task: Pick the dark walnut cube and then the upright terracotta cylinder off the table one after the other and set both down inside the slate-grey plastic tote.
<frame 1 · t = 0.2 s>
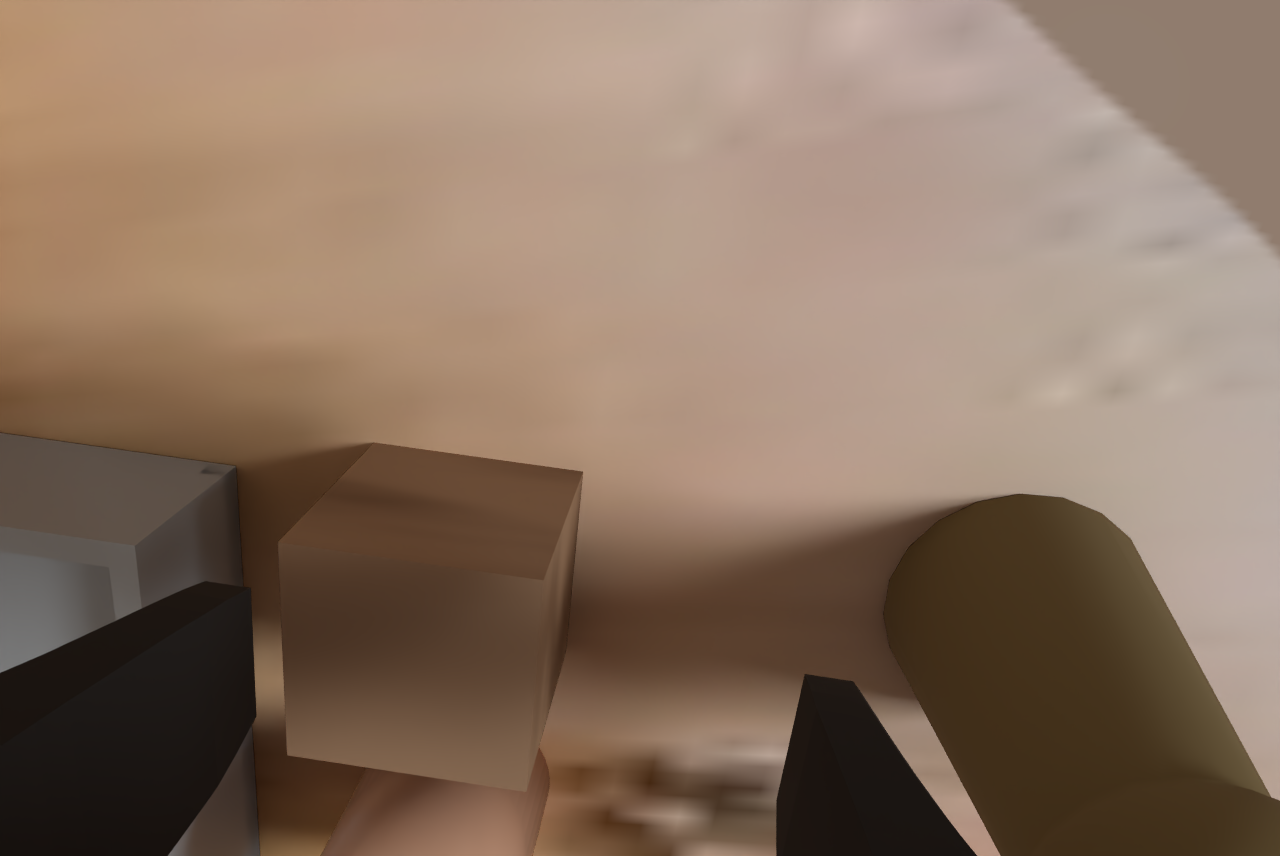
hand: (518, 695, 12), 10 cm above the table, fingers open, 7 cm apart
walnut cube: (474, 548, 22), on the table
tote: (22, 697, 25), on the table
terracotta cylinder: (463, 773, 25), on the table
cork: (1011, 605, 21), on the table
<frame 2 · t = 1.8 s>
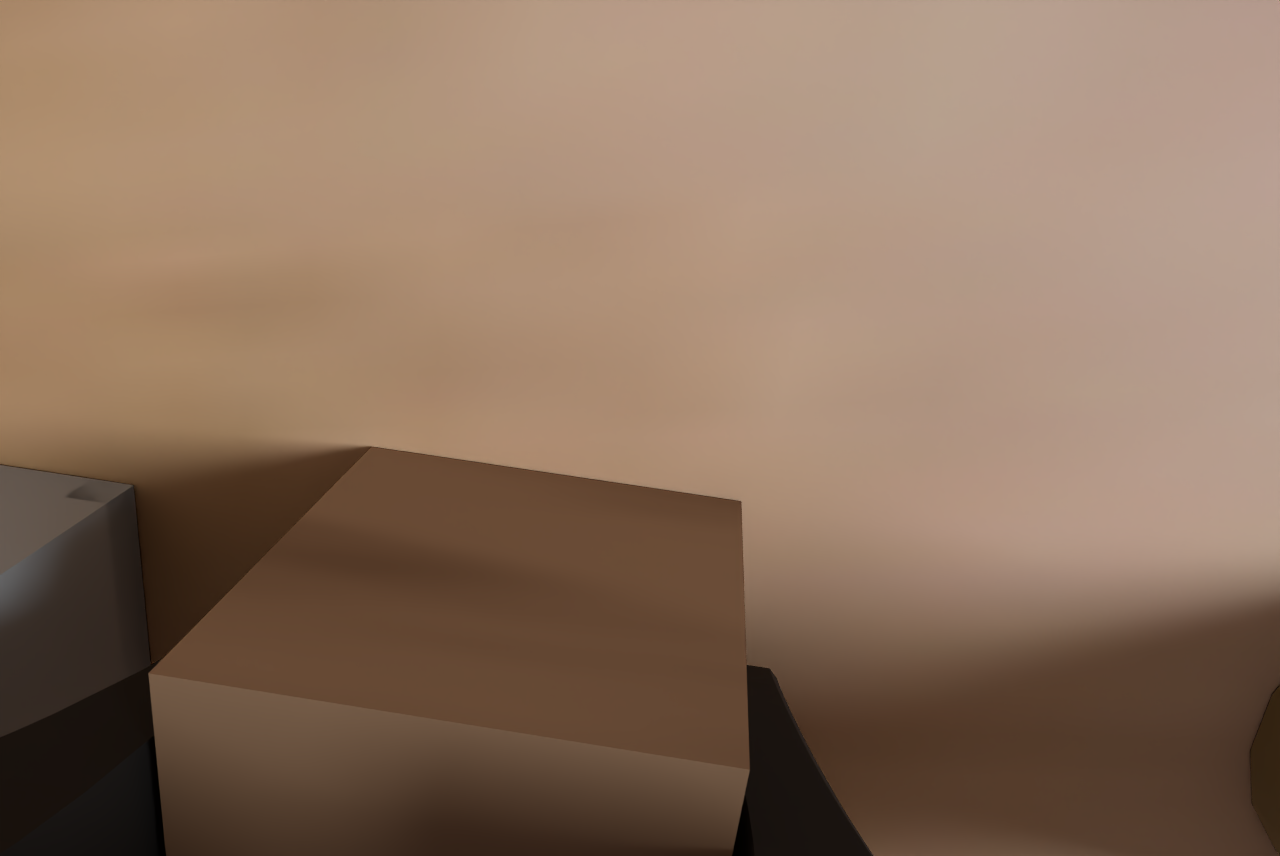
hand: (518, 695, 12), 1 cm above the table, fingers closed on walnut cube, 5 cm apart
walnut cube: (539, 632, 13), on the table, touching gripper
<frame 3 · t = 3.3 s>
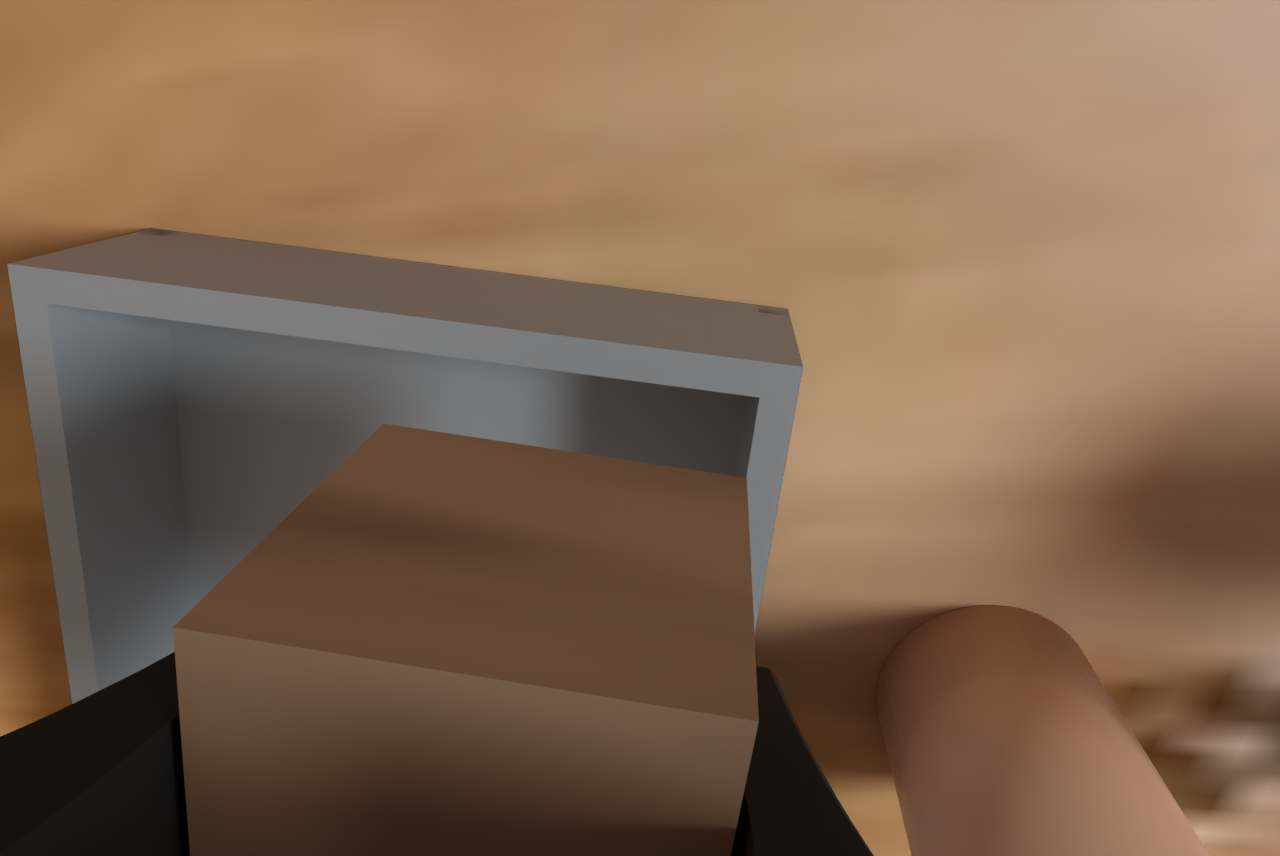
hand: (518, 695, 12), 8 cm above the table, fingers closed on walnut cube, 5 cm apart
walnut cube: (547, 608, 13), point 7 cm above the table, touching gripper
tote: (451, 608, 21), on the table
terracotta cylinder: (982, 695, 21), on the table
when the fingers open (3 cm above the table, at t = 5.0 s): walnut cube drops 1 cm, resting on tote.
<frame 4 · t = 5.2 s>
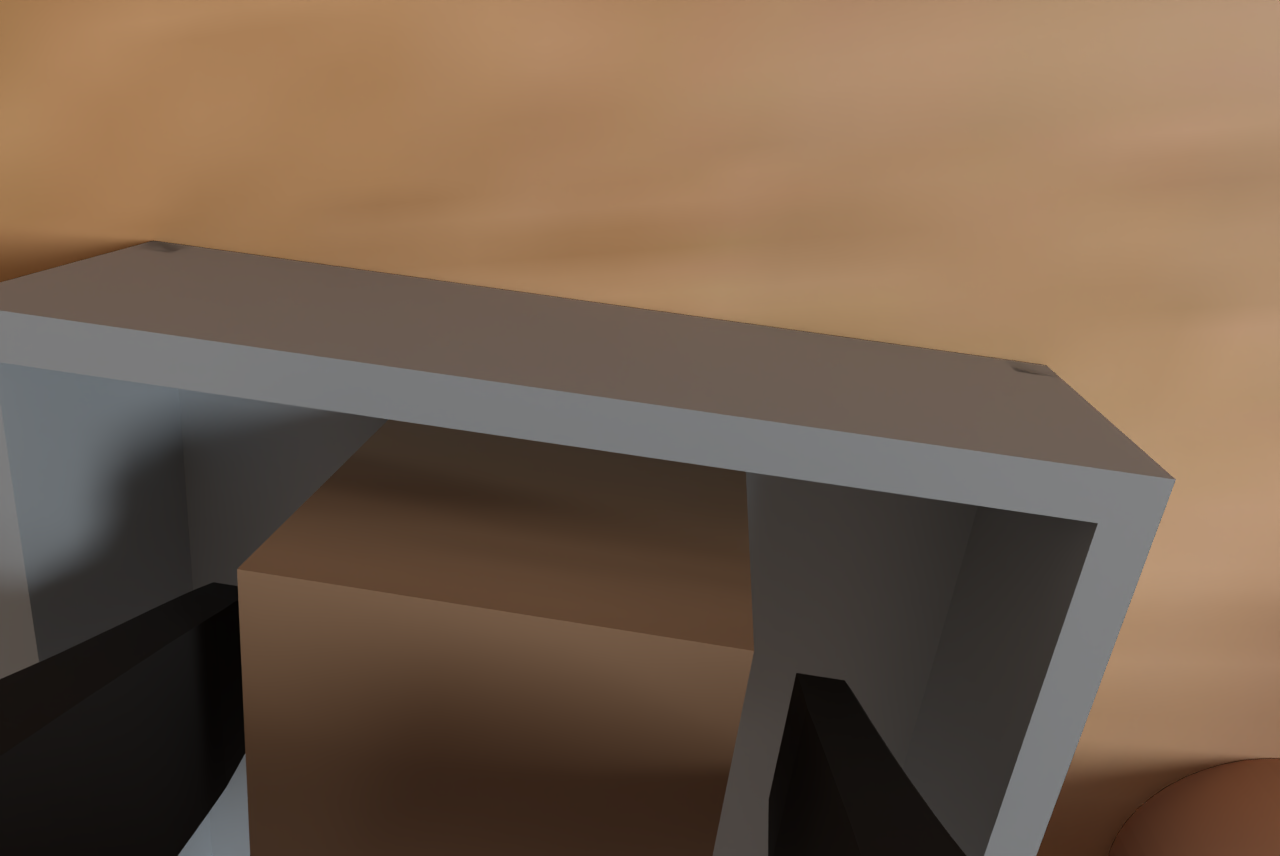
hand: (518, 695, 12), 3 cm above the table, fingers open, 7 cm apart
walnut cube: (559, 572, 14), point 1 cm above the table, touching tote
tote: (545, 743, 16), on the table
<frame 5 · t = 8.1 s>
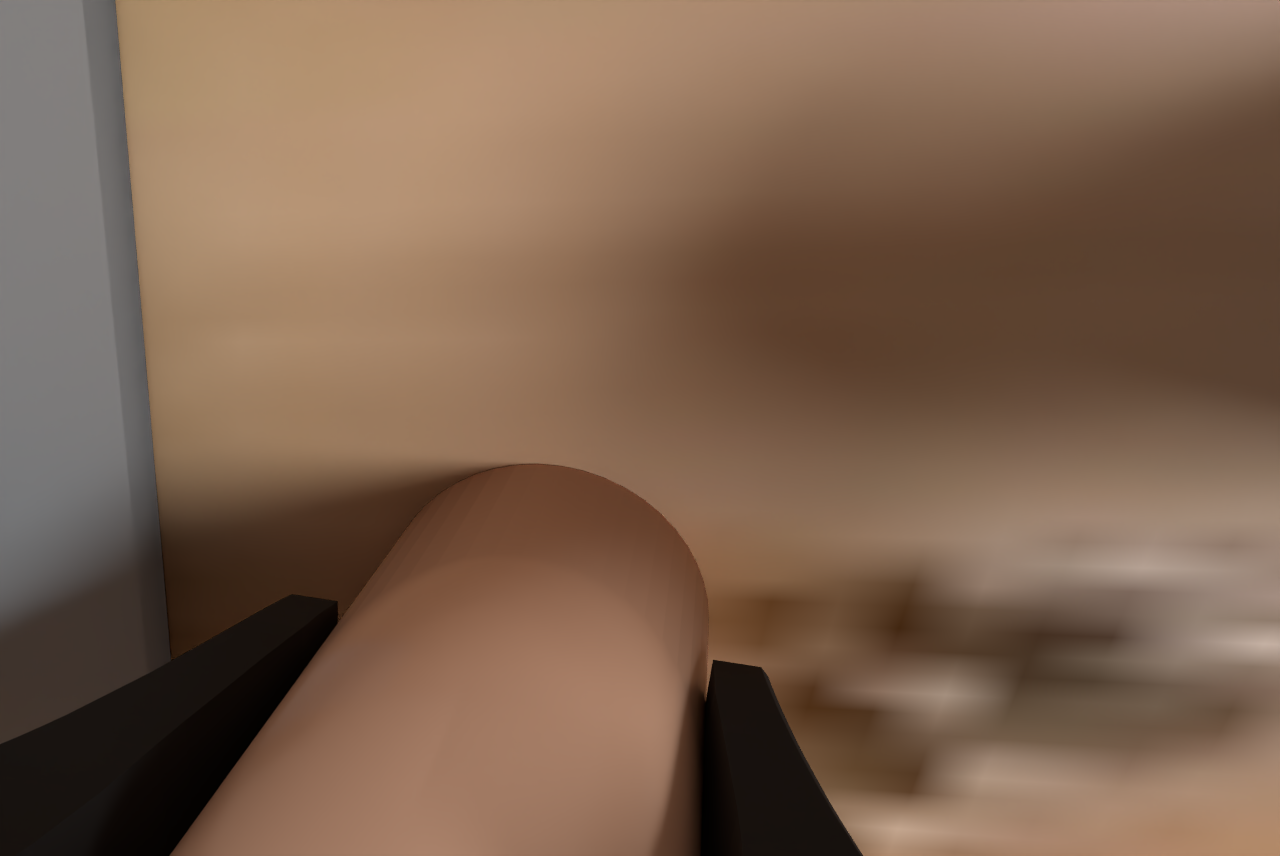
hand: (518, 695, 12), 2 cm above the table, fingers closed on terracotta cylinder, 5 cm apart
terracotta cylinder: (546, 613, 13), on the table, touching gripper
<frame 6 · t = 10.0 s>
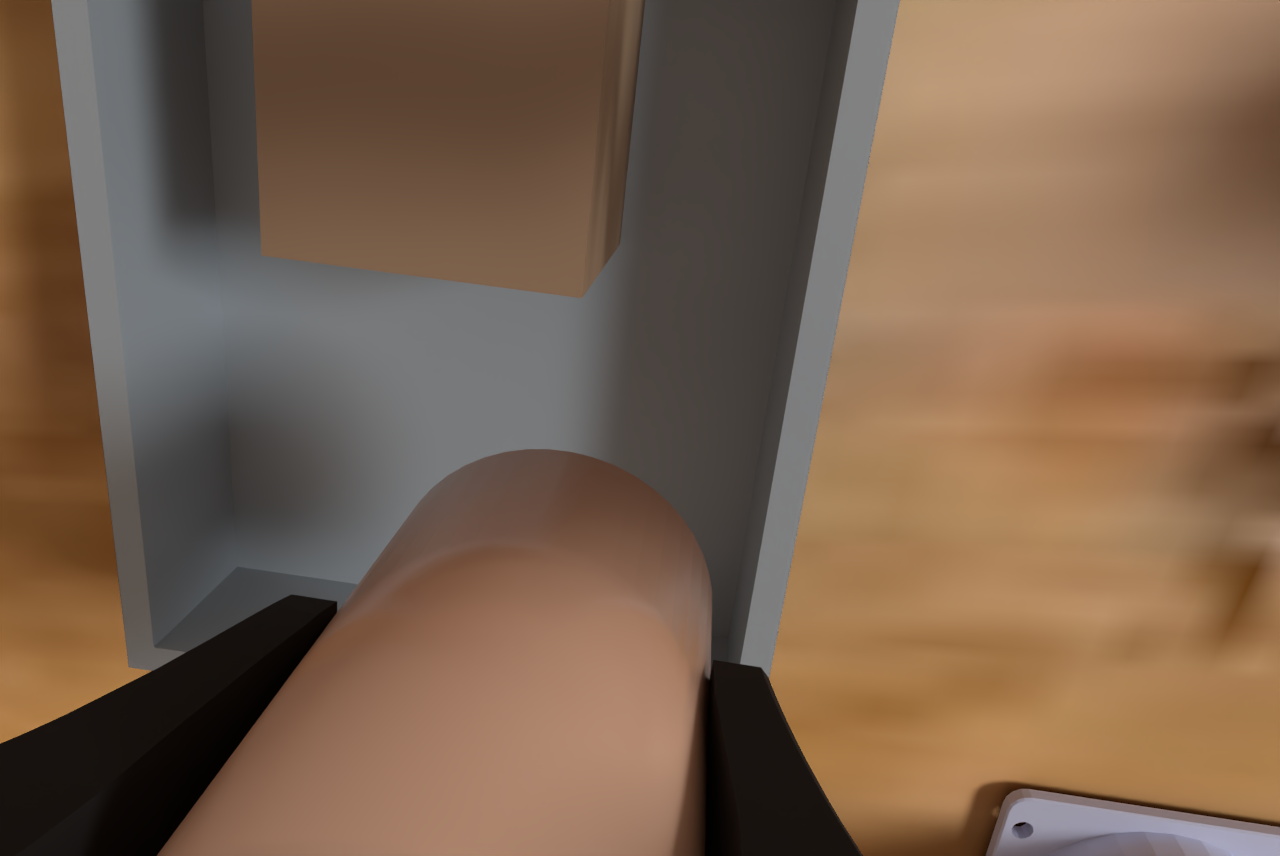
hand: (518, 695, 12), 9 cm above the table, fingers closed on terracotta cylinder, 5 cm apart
walnut cube: (505, 99, 18), point 1 cm above the table, touching tote
tote: (501, 289, 19), on the table
terracotta cylinder: (550, 598, 13), point 7 cm above the table, touching gripper
when the fingers open (4 cm above the table, at t = 11.8 s): terracotta cylinder drops 1 cm, resting on tote.
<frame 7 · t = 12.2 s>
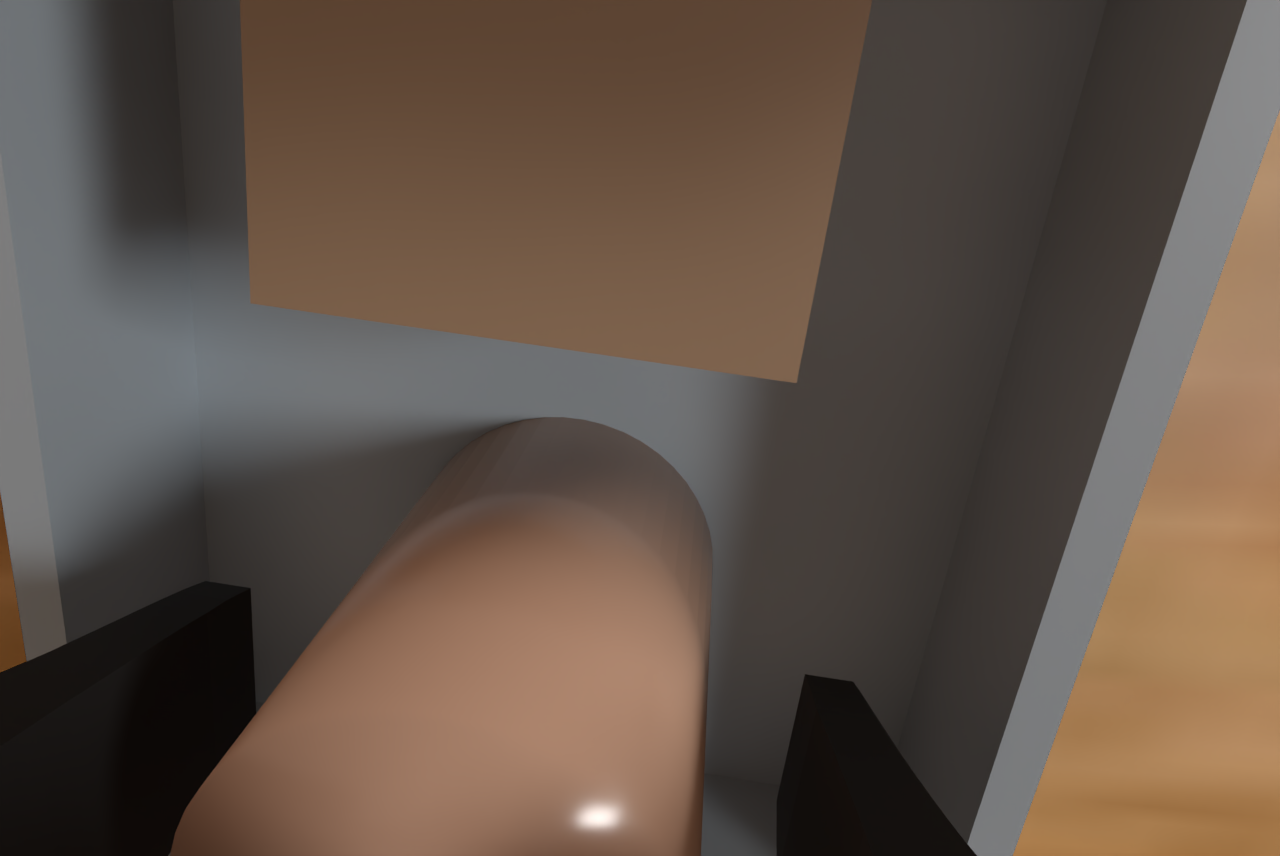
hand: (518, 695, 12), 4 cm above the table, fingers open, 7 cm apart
walnut cube: (615, 59, 12), point 1 cm above the table, touching tote
tote: (591, 332, 14), on the table
terracotta cylinder: (564, 556, 15), point 1 cm above the table, touching tote
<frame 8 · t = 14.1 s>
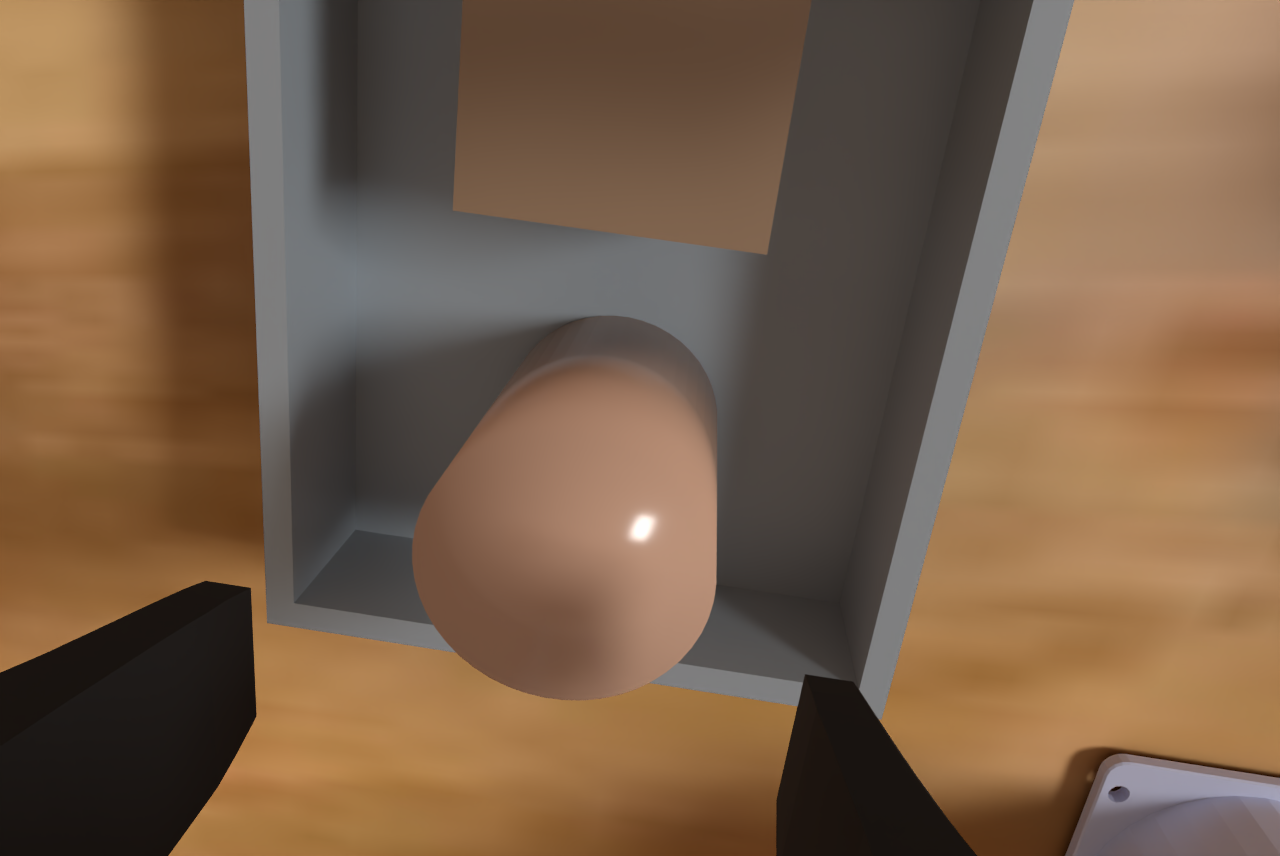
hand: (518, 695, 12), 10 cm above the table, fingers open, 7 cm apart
walnut cube: (653, 67, 18), point 1 cm above the table, touching tote
tote: (632, 257, 20), on the table
terracotta cylinder: (612, 418, 21), point 1 cm above the table, touching tote
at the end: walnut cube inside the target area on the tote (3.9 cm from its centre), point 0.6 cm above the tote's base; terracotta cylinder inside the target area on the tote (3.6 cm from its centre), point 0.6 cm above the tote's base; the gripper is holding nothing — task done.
